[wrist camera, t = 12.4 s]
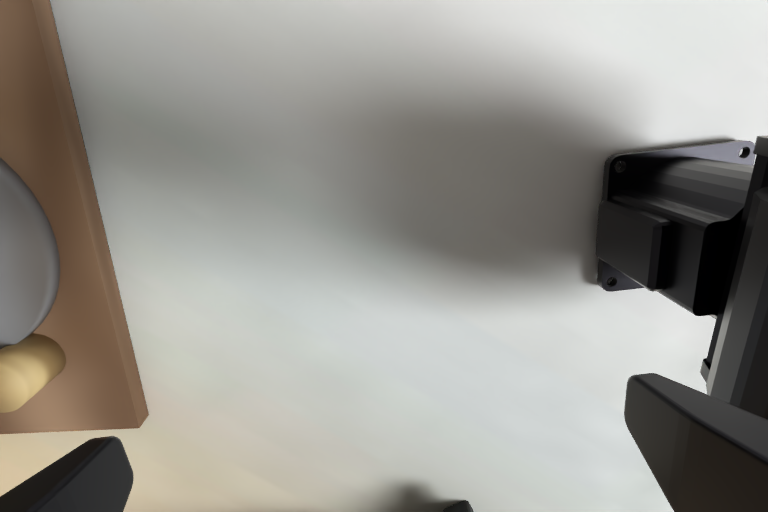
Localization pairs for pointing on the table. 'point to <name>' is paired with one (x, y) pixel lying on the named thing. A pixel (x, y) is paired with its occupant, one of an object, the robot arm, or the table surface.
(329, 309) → the table surface
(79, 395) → the board
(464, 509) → the scope
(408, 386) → the table surface
